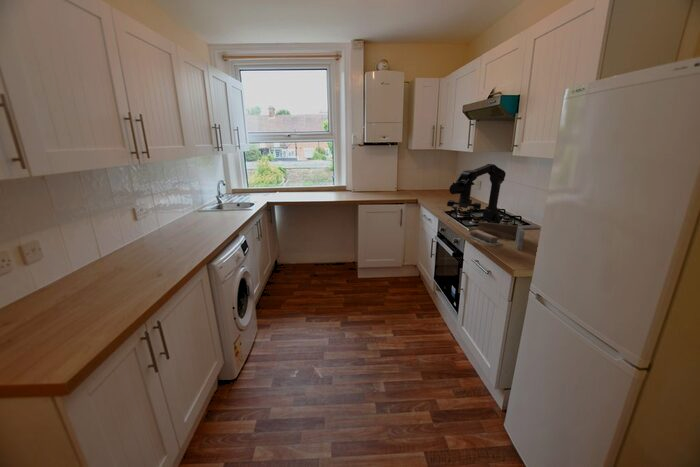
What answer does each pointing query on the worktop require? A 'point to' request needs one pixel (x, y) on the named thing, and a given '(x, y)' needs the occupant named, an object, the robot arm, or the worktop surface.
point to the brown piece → (504, 231)
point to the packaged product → (484, 238)
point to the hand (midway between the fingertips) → (462, 218)
